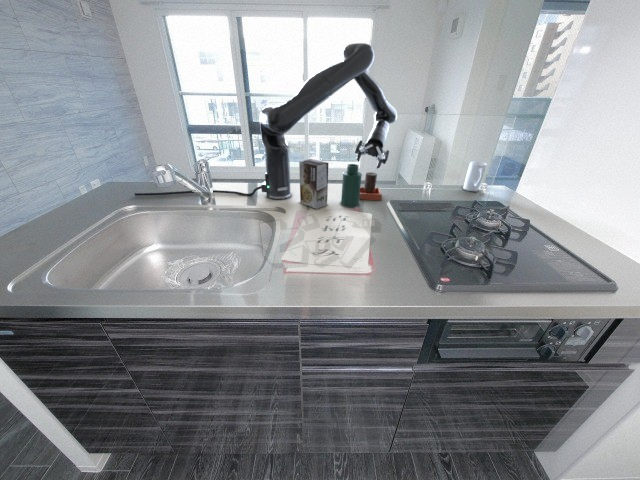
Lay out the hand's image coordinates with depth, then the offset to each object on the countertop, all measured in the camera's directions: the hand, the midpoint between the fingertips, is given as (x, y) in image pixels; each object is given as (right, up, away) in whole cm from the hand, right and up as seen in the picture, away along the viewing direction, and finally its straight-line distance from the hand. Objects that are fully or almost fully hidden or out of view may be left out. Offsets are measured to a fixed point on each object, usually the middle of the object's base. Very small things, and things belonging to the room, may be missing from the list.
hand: (367, 163), depth 112 cm
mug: (+49, -10, +9) cm, 51 cm away
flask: (-9, -18, -9) cm, 22 cm away
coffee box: (-23, -19, -9) cm, 31 cm away
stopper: (0, -13, -1) cm, 13 cm away
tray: (0, -14, -1) cm, 14 cm away
